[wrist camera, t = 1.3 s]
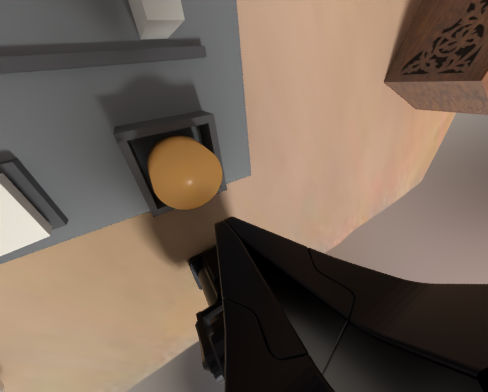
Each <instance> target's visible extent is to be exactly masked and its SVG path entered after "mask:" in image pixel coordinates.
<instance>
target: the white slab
mask: <svg viewBox="0 0 488 392" xmlns="http://www.w3.org/2000/svg"><path fill="white" fill-rule="evenodd" d="M51 229H52V226H51V225H50V224H49V223H48V222H47V221H46V219H45V218H44V217H43V216H42V215H41V214H40V213H39V212H38V211H37V210H36V209H35V208H34V206H33V205H32V204H31V203H30V202H29V201H28V200H27V199H26V198H25V197H24V196H23V194H22V193H21V192H20V191H19V190H18V189H17V188H16V187H15V186H14V185H13V184H12V183H11V181H10V180H9V179H8V178H7V177H6V176H5V175H4V174H3V173H1V174H0V256H2V255H5V254H7V253H10V252H12V251H15V250H17V249H20V248H22V247H25V246H27V245H29V244H32V243H34V242H37V241H39V240H42V239H44V238H47V237H49V236H51Z"/></svg>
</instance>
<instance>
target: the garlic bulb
mask: <svg viewBox="0 0 488 392" xmlns="http://www.w3.org/2000/svg"><path fill="white" fill-rule="evenodd" d="M0 392H4V385H3V383H2V381H1V380H0Z"/></svg>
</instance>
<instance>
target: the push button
mask: <svg viewBox="0 0 488 392" xmlns="http://www.w3.org/2000/svg"><path fill="white" fill-rule="evenodd" d="M147 168H148V172H149V176H150V179H151V183H152V186H153V189H154V192H155V194H156V195H157V197H158V198H159V199H160V200H161V201H162V202H163V203H164V204H166V205H168V206H170V207H172V208H176V209H183V210H186V209H193V208H197V207H199V206H202V205H204V204H205V203H207V202H208V201H210V200H211V199H212V198H213V197H214V196H215V194H216V193H217V191H218V190H219V187H220V185H221V182H222V168H221V164H220V162H219V160H218V159H217V157H216V156H215V155H214V154H213V153H212V152H211V151H210V150H208V149H207V148H206V147H204V146H203V145H202V144H200V143H199V142H198V141H196V140H195V139H193V138H192V137H189V136H186V135H181V134H173V135H169V136H166V137H163V138H161V139H160V140H158V141H157V142H156V143H155V144H154V145H153V146H152V148H151V149H150V151H149V153H148V157H147Z"/></svg>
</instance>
